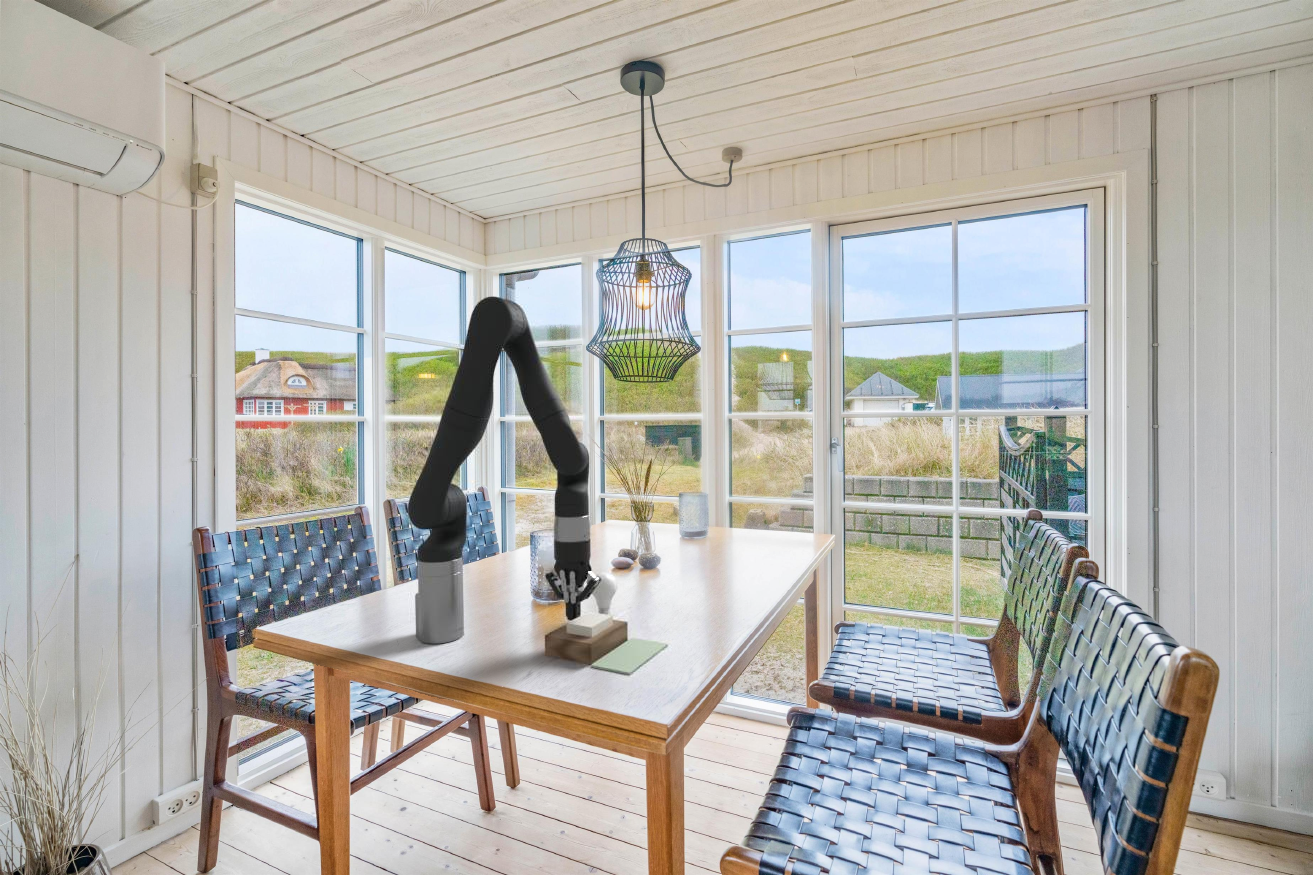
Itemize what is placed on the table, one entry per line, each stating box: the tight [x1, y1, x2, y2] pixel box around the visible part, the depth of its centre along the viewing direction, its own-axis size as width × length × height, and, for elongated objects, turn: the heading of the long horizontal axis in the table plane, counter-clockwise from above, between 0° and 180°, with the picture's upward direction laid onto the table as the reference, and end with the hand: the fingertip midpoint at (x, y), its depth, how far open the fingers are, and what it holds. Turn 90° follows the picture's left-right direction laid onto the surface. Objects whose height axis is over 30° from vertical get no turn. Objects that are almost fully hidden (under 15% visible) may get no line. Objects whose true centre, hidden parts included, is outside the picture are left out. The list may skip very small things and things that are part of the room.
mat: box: [590, 637, 669, 676], centre depth 119 cm, size 8×16×1 cm, turn 153°
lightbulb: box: [591, 571, 618, 615], centre depth 142 cm, size 6×6×11 cm
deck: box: [544, 619, 629, 666], centre depth 124 cm, size 11×14×4 cm
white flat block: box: [566, 611, 614, 637], centre depth 123 cm, size 6×8×2 cm
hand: (573, 619), depth 125 cm, fingers closed
